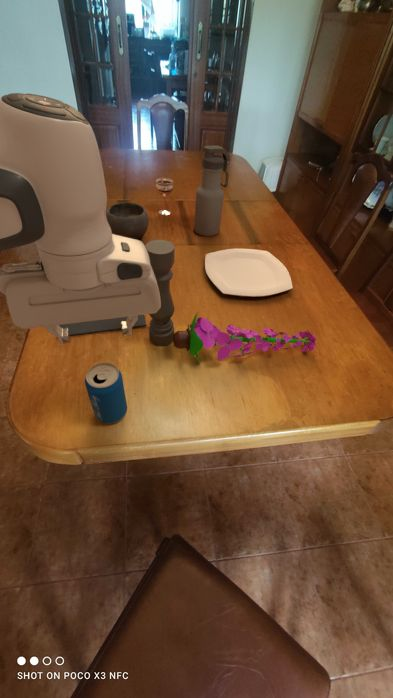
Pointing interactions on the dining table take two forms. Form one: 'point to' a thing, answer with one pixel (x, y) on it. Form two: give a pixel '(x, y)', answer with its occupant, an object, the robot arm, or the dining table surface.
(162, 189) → the wineglass
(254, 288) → the plate
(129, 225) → the bowl
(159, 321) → the candle holder
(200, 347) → the potted plant
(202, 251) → the dining table surface
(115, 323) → the mat
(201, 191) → the water bottle
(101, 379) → the beverage can
